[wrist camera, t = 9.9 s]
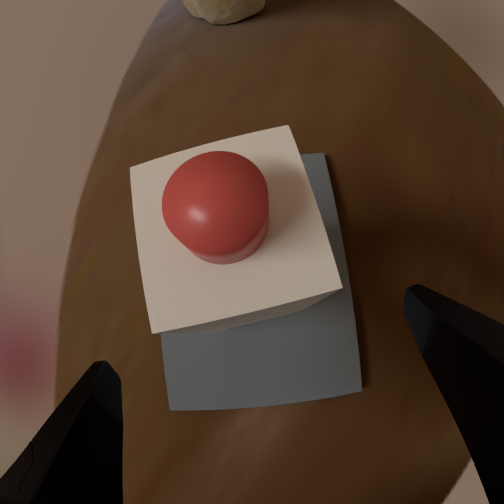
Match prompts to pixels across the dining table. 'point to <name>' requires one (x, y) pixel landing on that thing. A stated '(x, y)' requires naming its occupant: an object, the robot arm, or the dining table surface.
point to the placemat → (273, 342)
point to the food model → (223, 9)
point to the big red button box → (230, 234)
